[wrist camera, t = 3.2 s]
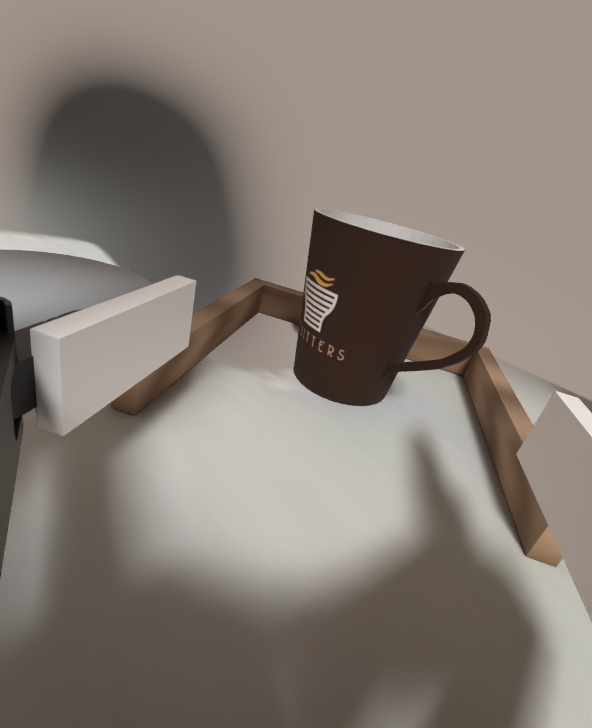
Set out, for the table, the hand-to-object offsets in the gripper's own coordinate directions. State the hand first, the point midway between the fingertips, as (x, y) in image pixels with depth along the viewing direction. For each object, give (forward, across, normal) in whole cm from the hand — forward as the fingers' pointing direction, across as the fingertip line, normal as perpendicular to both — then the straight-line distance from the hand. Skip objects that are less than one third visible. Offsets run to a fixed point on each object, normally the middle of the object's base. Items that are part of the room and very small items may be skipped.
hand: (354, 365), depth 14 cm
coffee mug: (+9, 0, -6) cm, 11 cm away
